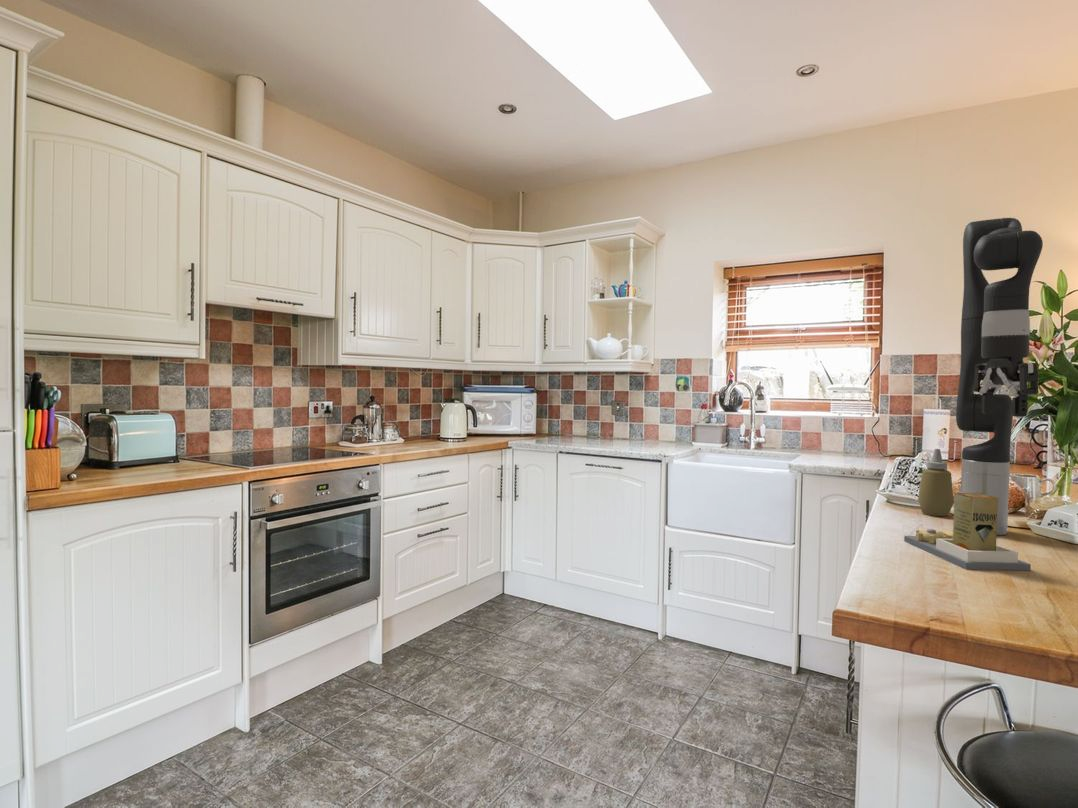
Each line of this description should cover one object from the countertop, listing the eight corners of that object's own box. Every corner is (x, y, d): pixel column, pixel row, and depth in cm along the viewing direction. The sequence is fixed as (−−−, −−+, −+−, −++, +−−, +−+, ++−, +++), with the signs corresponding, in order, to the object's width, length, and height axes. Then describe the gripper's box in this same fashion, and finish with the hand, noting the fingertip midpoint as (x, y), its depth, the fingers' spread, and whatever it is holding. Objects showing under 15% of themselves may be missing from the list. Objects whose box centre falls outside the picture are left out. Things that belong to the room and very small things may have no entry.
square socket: (935, 547, 121) (936, 538, 121) (982, 548, 121) (982, 539, 121) (967, 561, 112) (967, 551, 112) (1017, 562, 111) (1018, 552, 111)
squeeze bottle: (926, 517, 156) (928, 450, 155) (912, 510, 164) (914, 447, 163) (959, 518, 154) (961, 451, 154) (943, 512, 162) (945, 447, 162)
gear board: (904, 541, 131) (904, 525, 131) (959, 542, 131) (960, 526, 130) (965, 569, 111) (966, 550, 111) (1031, 570, 111) (1032, 551, 110)
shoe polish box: (952, 551, 119) (954, 493, 118) (976, 551, 119) (978, 493, 118) (970, 558, 114) (972, 497, 113) (995, 558, 114) (997, 497, 113)
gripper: (1054, 331, 109) (1051, 417, 110) (999, 335, 123) (997, 412, 124) (1011, 332, 109) (1009, 418, 110) (962, 336, 124) (960, 412, 124)
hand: (1003, 415), depth 117 cm, fingers open, 8 cm apart
